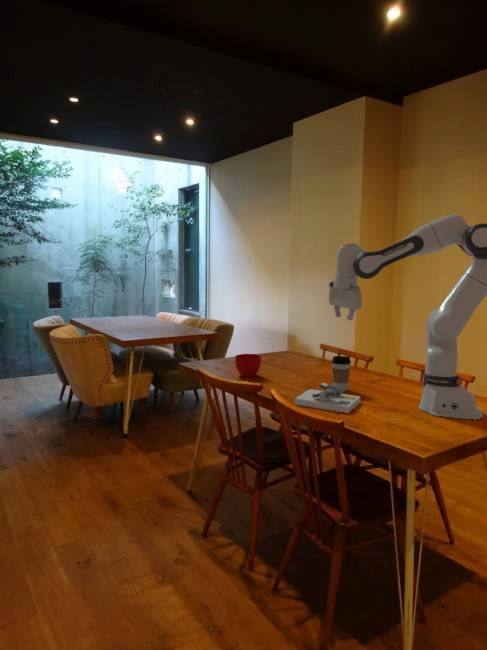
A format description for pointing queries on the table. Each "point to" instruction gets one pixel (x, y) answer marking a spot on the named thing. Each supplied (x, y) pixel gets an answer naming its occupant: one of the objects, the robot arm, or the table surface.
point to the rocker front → (327, 393)
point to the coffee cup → (341, 371)
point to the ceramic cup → (248, 364)
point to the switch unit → (328, 401)
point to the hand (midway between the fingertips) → (343, 318)
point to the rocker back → (326, 386)
